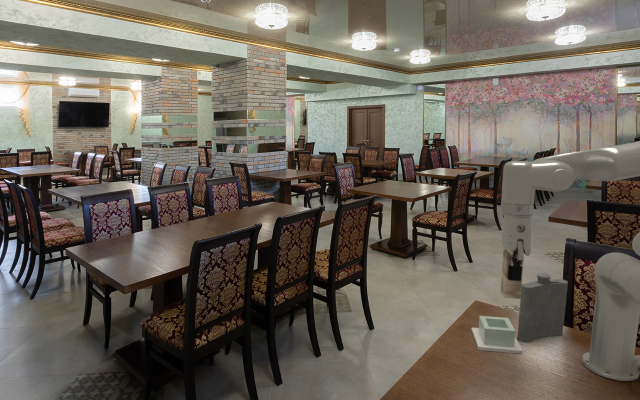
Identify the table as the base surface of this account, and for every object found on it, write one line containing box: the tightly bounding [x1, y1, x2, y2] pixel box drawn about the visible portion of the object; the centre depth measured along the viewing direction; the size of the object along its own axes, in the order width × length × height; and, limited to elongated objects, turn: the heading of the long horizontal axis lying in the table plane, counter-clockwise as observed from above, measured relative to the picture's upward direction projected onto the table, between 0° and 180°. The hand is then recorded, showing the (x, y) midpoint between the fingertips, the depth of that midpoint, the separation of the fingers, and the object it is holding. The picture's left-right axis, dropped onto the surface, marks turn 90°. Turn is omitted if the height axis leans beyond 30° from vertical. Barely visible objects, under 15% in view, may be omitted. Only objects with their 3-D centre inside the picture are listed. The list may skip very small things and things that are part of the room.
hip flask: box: [516, 272, 569, 343], centre depth 124 cm, size 16×4×20 cm, turn 105°
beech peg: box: [500, 249, 524, 300], centre depth 107 cm, size 4×4×12 cm
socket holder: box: [471, 315, 524, 355], centre depth 123 cm, size 12×12×6 cm
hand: (511, 276), depth 107 cm, fingers closed on beech peg, 4 cm apart
